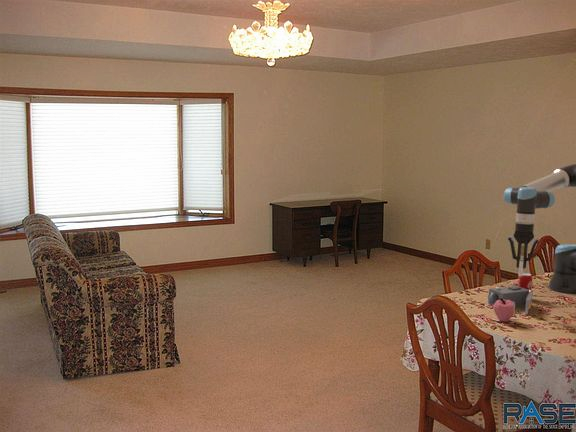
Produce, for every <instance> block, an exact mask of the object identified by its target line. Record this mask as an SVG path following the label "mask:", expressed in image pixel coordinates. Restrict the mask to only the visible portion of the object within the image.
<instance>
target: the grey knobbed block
mask: <svg viewBox="0 0 576 432" xmlns="http://www.w3.org/2000/svg"><path fill="white" fill-rule="evenodd" d="M488 289H489V290H488V296H487V299H488V300H487V301H488V302H487V303H488V304H489V305H492V306H494V304H495V302H496V301H497V300H500V299H501V298H502V299H505V300H511V301H513V302H514V303H515V308H518V307H519V308H520V307H526V298H527V296H528V294H529V290H527V289H524V288H521V287H518V285H508V286H501V287H500V286H496V287H490V288H488Z"/></svg>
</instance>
